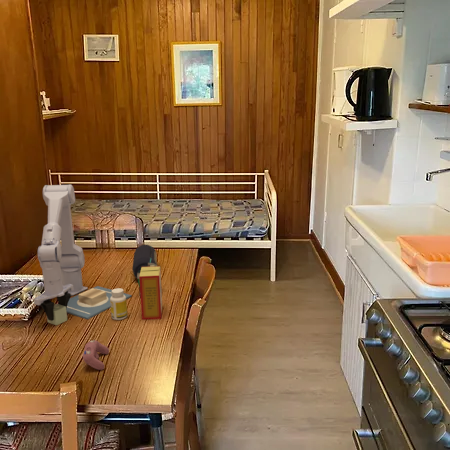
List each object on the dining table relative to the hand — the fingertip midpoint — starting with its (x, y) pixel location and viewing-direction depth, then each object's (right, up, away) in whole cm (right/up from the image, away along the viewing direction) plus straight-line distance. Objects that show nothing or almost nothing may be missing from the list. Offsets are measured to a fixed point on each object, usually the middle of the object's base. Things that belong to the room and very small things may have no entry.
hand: (57, 316), depth 159 cm
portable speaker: (+23, +10, +44) cm, 51 cm away
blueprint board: (+8, +2, +15) cm, 17 cm away
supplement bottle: (+20, -1, +3) cm, 21 cm away
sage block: (0, -2, 0) cm, 2 cm away
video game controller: (+20, -8, -24) cm, 33 cm away
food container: (+28, +5, +23) cm, 37 cm away
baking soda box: (+31, 0, +6) cm, 32 cm away
